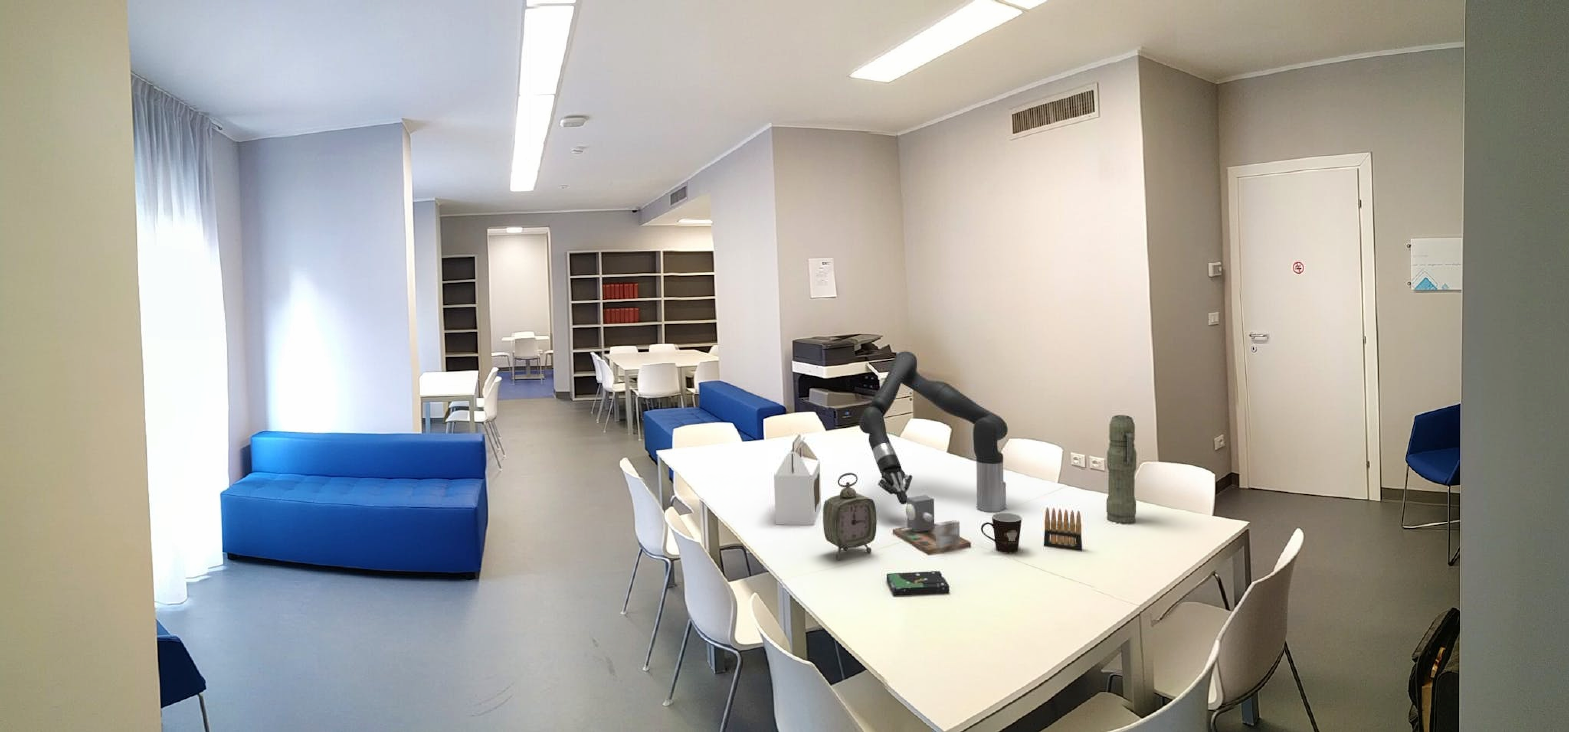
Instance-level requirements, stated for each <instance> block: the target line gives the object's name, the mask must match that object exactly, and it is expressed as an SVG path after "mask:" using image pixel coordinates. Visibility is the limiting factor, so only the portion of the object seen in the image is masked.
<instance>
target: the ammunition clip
mask: <svg viewBox="0 0 1569 732" xmlns="http://www.w3.org/2000/svg"><path fill="white" fill-rule="evenodd" d="M1068 512H1069V511H1068V510H1067V509H1065V510H1064V513H1062V510H1061V508H1059V509H1058V513H1057V515H1056V510H1055V507H1053V508H1052V510H1051V517H1050V509H1049V507H1046V509H1045V516H1044V533H1043V534H1044V535H1043V536H1044V537H1043V547H1044V548H1045V547H1047V548H1055V549H1062V550H1070V551H1077V552H1081V551H1082V550H1083V540H1082V539H1083V537H1082V532H1083V531H1082V520H1081V518H1082V517H1081V513H1080V510H1077V513H1076V520H1075V512H1074V510H1073V509H1072V510H1071V511H1070V516H1069V513H1068ZM1062 514H1063V515H1062ZM1056 516H1057V517H1056ZM1069 517H1070V518H1069ZM1050 518H1051V519H1050Z"/></svg>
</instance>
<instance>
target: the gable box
mask: <svg viewBox="0 0 1569 732" xmlns="http://www.w3.org/2000/svg"><path fill="white" fill-rule="evenodd" d="M805 438H806V437H803V439H802V436H801V434H798V435H797V437H796V438H795V439H794V441H793V442H792V445H791V446H792V448H791V450H790V451H789V452H788V453H787V454H786V456H785V457H784V459H783V460H782V462H781V464H780V465H779V467H778V468H777V471H776V472H775V474H774V475H773V481H774V483H773V486H774V487H773V488H774V509H775V514H774V515H775V516H774V517H775V525H782V526H784V525H785V526H814V525H815V523H816V520H817V518H818V515H819V513H820V511H821V508H822V496H821V495H822V492H821V463H820V460H819V459H818V457H817V456H816V455H815V453H814V452H813V450H812V449H811V448H810V446H809V445H808V444H807V443H806V442H805Z"/></svg>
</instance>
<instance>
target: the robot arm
mask: <svg viewBox="0 0 1569 732" xmlns="http://www.w3.org/2000/svg"><path fill="white" fill-rule="evenodd" d="M917 370H918V360H917V356H916V355H915V354H914V353H912V352H910V351H905V350H904V351H901V352H898V353H897V354H896V355H895V356H894V358H893V361H892V364H891V365H890V369H889V371H888V373H887V374H886V376H885V378H884V380H883V382H882V384H881V386H880V387H879V389H878V391H877V392H876V393H875V395H874V396H873V398H872V399H871V402H870V404H869V406H868V407H867V408H865V409H864V411H863V412H862V415H861V416H860V419H859V421H858V426H859V429H860V430H861V432H863V433H864V434H867V435H868V443H869V446H870V448H871V451H872V454H873V458H874V460H875V463H876V466H877V468H878V470H879V473H880V475H881V479H880V480H879V481H878V483H877V485H878V486H879V487H880V488H882V489H883V490H885V492H887V493H888V494H890V495H895V496H896V498H897V500H898V502H899V504H900V505H907V498H908V496H907V495H908V494H907V492H908V490H909V488H910V487H911V486H910V485H911V483H912V479H913V476H912V474H909V475H908V474H906V473H905V471H904V470H903V469H902V464H901V461H900V460H899V458H898V455H897V453H896V451H895V448H894V447H893V444H892V442H891V440H890V438H889V436H888V434H887V427H886V421H885V418H884V417H885V415H886V414H887V412H888V411H889V410H890V409H891V407H892V405H893V403H894V401H896V398H897V395H898V392H899V390H900V387H901V384H902V385H903V386H905V387H907V388H909V389H911V390H913V391H914V392H916V393H917V394H919V395H921V397H924V398H925V399H927V400H928V401H930V402H931V403H932V404H934V405H935V406H936V407H937V408H939V409H941V410H942V411H943V412H945V413H947V414H949V415H952V416H954V417H957V418H959V419H963V420H965V421H967V422H969V423H971V424H973V429H972V437H973V438H972V440H973V441H972V443H973V452H974V455H975V458H976V459H975V460H976V464H975V465H976V466H975V467H976V509H978V510H979V511H983V512H988V513H996V512H1001V511H1003V510H1005V509H1007V491H1006V490H1007V483H1006V482H1005V481H1004V454H1003V453H1002V452H1001V451H999V448H998V442H999V441H1000V440H1002V439H1004V438H1005V437H1006V436H1007V434H1008V430H1009V429H1008V426H1007V423H1006V421H1005V420H1004V419H1003V418H1002V417H1001V416H999V415H998V414H996V413H994V412H992V411H990V410H988V409H986V408H984V407H983V406H981V405H979V404H978V403H977V402H975V401H973V400H972V399H970V398H969V397H968V396H966V395H964V394H963V393H961V391H959V390H958V389H956V388H955V387H953V386H951V384H949V383H947V382H945V381H938V380H929V379H927V378H926V377H923V376H922V375H921V374H920V373H919V372H918V371H917ZM904 482H905V483H904Z"/></svg>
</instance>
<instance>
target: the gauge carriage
mask: <svg viewBox="0 0 1569 732" xmlns="http://www.w3.org/2000/svg"><path fill="white" fill-rule="evenodd" d="M905 514H906V520H907V522H906V527H907V528H906V529H901V531H907V530H912V531H914V532H921V531H927V530H933V529H934V523H935V498H933V497H931V496H929V495H927V494H923V495H917V496H912V497H911V496H910V497H907V503H906V506H905Z"/></svg>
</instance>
